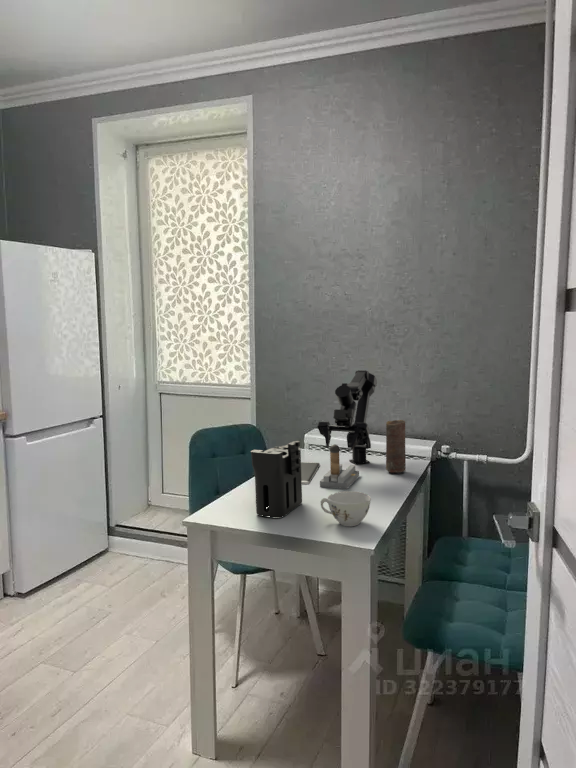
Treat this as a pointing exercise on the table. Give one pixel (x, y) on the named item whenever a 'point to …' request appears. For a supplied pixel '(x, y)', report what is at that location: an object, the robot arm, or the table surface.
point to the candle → (395, 446)
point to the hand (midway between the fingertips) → (339, 448)
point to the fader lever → (334, 462)
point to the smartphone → (308, 471)
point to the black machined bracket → (277, 479)
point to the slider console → (341, 478)
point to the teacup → (348, 507)
